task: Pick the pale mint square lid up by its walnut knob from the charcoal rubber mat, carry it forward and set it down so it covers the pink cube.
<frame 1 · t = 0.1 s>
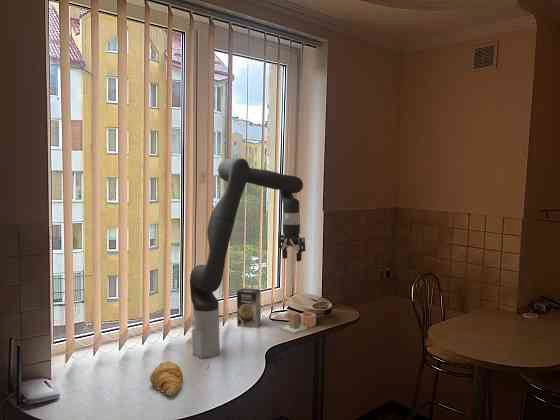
hand: (291, 259, 204), 29 cm above the table, tool pointing down, fingers open, 8 cm apart
lid: (294, 329, 199), point 1 cm above the table, touching mat
croissant: (166, 385, 152), on the table
mat: (294, 330, 199), on the table
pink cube: (308, 325, 205), on the table
coffee box: (249, 326, 206), on the table
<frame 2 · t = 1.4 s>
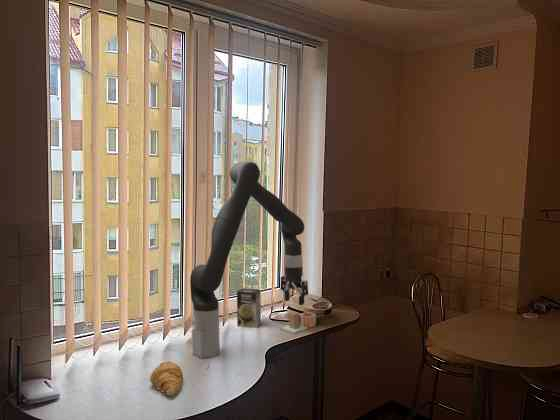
hand: (294, 302, 198), 12 cm above the table, tool pointing down, fingers open, 8 cm apart
nothing on the table moved.
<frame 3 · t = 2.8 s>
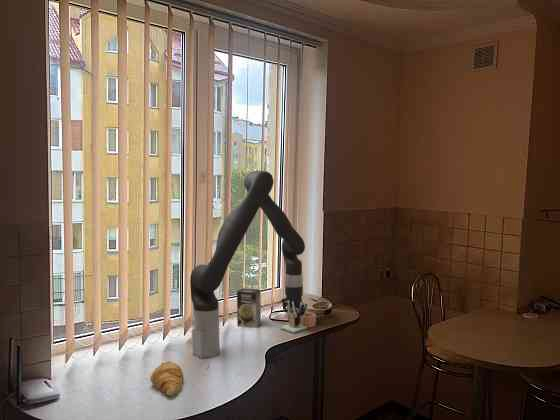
hand: (294, 324, 199), 3 cm above the table, tool pointing down, fingers closed on lid, 3 cm apart
lid: (294, 328, 199), point 1 cm above the table, touching gripper
everything else where it was.
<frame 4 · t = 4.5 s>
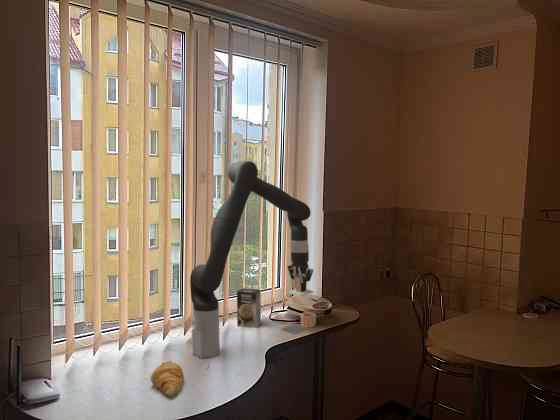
hand: (300, 289, 200), 17 cm above the table, tool pointing down, fingers closed on lid, 3 cm apart
lid: (300, 292, 200), point 16 cm above the table, touching gripper
everything else where it was.
when the fingers open (9 cm above the table, at t = 6.0 s): lid drops 3 cm, resting on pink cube.
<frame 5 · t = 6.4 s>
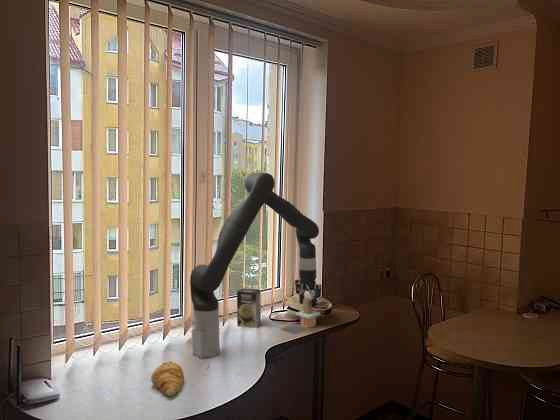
hand: (308, 305, 204), 9 cm above the table, tool pointing down, fingers open, 6 cm apart
lid: (308, 314, 204), point 5 cm above the table, touching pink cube
everything else where it was.
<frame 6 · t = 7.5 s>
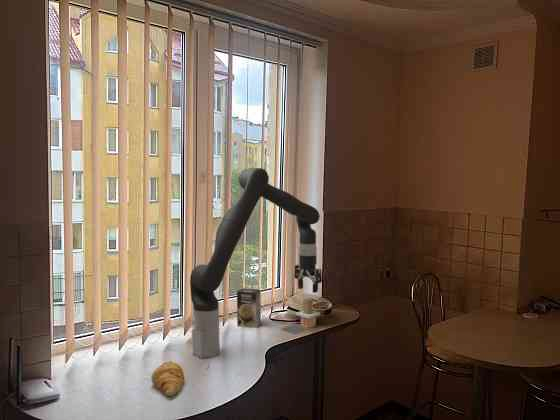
hand: (307, 290, 203), 16 cm above the table, tool pointing down, fingers open, 8 cm apart
nothing on the table moved.
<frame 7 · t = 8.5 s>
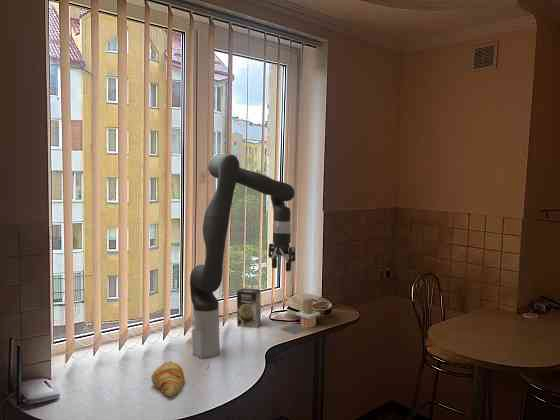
hand: (281, 269, 199), 26 cm above the table, tool pointing down, fingers open, 8 cm apart
nothing on the table moved.
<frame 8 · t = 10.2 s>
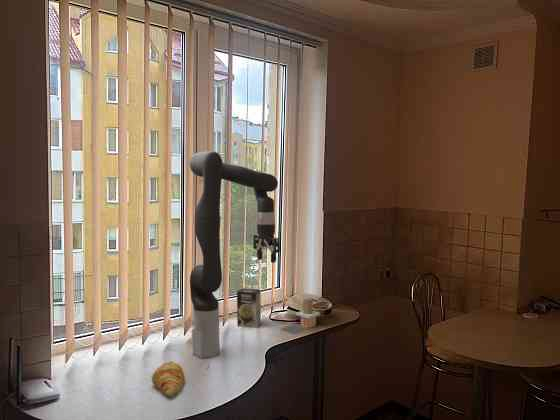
hand: (266, 260, 197), 30 cm above the table, tool pointing down, fingers open, 8 cm apart
nothing on the table moved.
at the end: lid 0.1 cm off-centre on the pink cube, point 5.0 cm above the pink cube's base; lid tilted 0°; the gripper is holding nothing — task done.
